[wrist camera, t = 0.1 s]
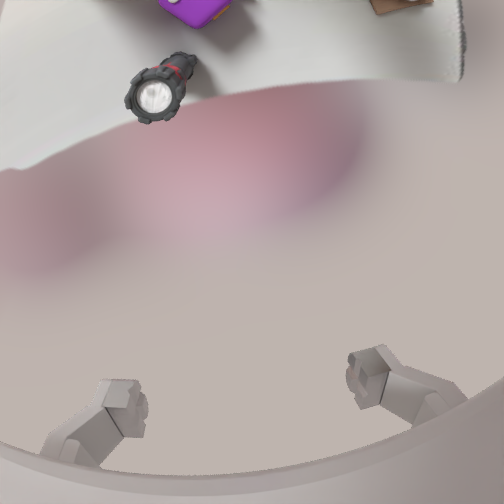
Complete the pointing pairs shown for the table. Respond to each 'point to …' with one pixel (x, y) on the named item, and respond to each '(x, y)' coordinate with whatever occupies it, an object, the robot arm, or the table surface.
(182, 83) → the flashlight
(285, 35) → the table surface
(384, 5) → the walnut mount plate
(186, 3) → the toy camera
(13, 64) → the table surface
